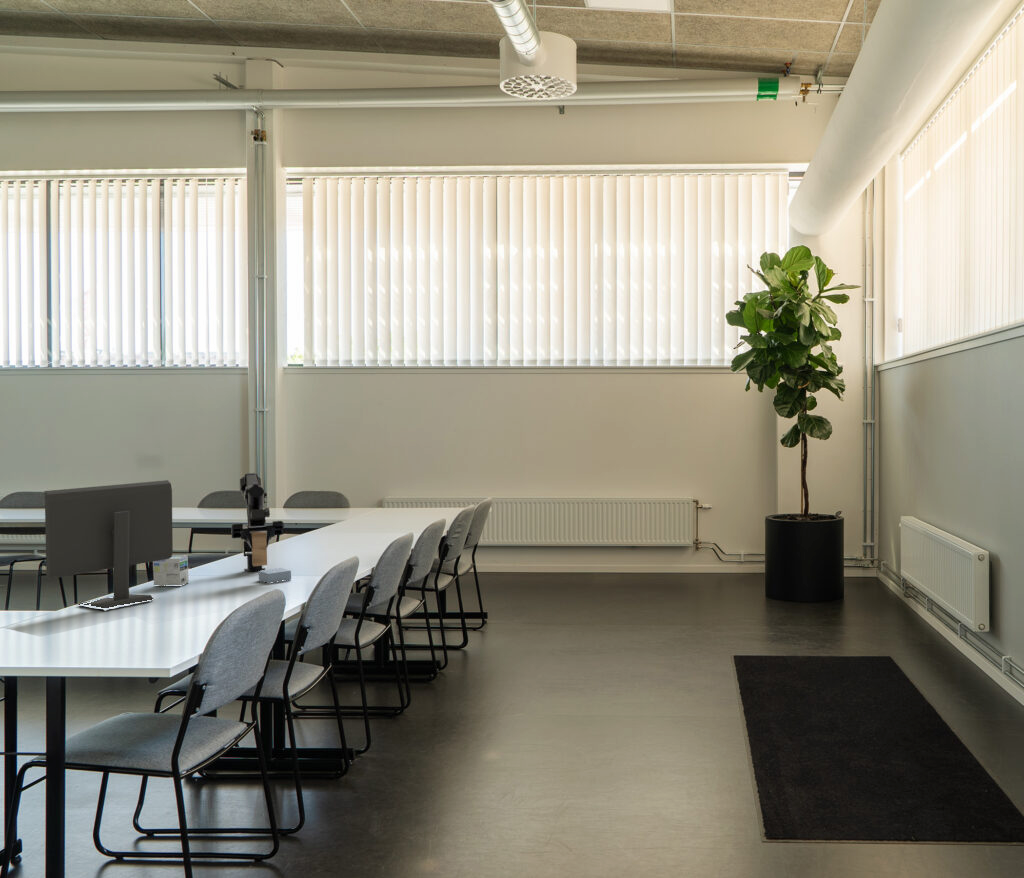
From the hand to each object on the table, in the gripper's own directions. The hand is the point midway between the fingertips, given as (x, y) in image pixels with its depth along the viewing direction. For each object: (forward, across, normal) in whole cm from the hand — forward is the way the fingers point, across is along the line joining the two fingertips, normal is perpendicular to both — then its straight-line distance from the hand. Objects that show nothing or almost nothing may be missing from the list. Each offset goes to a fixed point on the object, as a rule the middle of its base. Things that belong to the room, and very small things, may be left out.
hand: (259, 547), depth 333 cm
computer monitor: (+20, -48, -1) cm, 52 cm away
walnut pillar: (+4, 0, +6) cm, 7 cm away
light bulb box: (+1, -31, +18) cm, 36 cm away
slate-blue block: (+7, +6, +12) cm, 15 cm away
